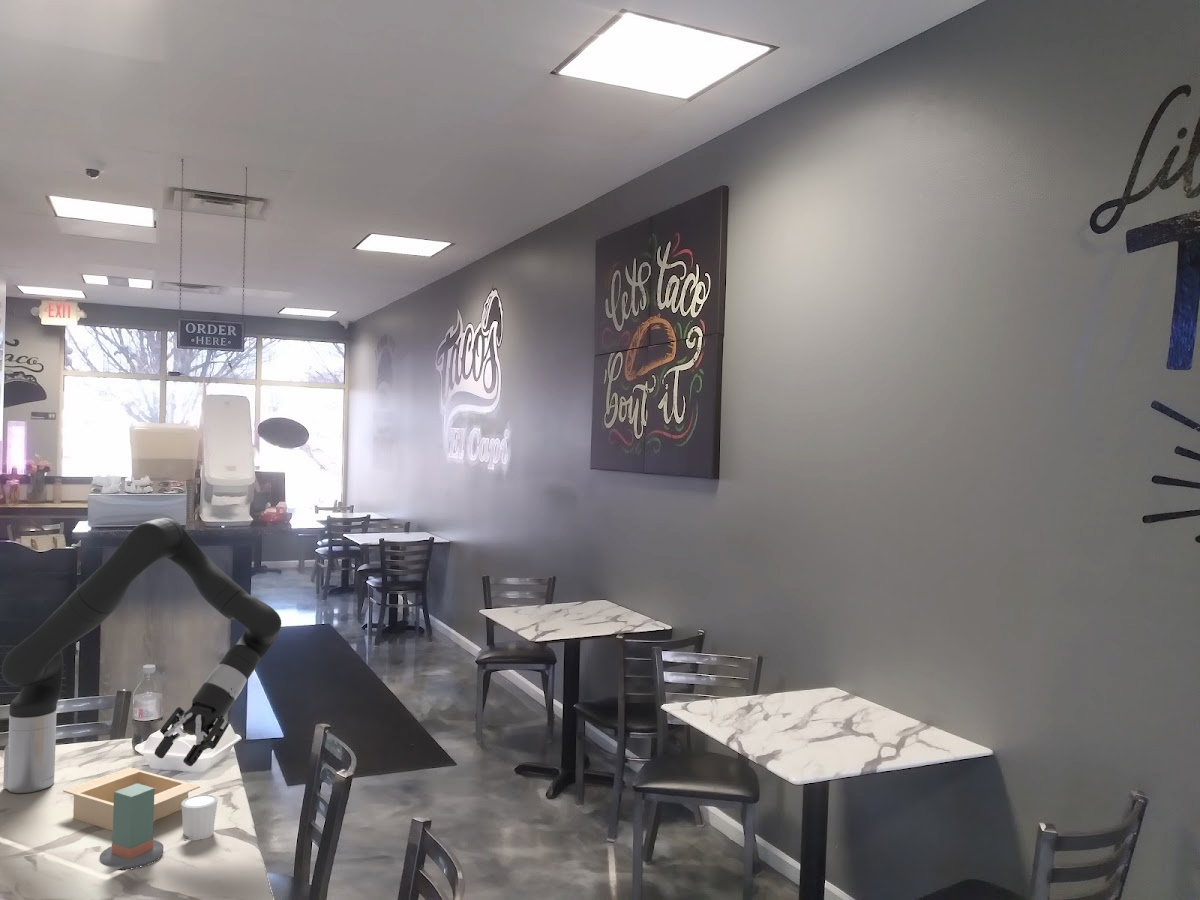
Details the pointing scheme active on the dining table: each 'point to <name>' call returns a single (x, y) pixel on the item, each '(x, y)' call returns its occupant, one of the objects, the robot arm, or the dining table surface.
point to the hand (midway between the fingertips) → (172, 760)
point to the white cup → (199, 816)
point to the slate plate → (135, 862)
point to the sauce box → (133, 821)
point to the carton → (99, 794)
